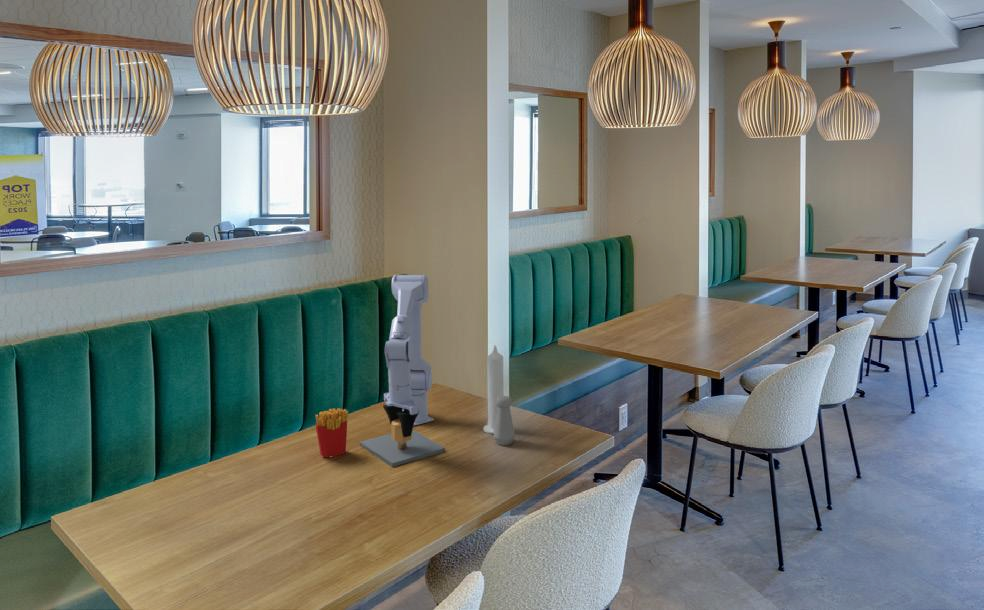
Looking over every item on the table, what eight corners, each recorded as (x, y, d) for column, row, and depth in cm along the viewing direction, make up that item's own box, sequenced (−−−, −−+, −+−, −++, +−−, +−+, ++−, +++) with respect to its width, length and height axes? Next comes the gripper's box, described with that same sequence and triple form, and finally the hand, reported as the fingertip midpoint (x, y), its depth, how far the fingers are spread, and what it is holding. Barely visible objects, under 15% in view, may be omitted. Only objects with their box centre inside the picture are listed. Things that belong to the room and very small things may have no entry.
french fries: (320, 459, 193) (317, 415, 191) (316, 454, 196) (313, 411, 194) (351, 453, 197) (349, 410, 194) (347, 448, 200) (345, 405, 198)
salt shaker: (514, 446, 200) (514, 400, 197) (493, 446, 200) (493, 400, 197) (514, 438, 206) (514, 393, 203) (493, 438, 206) (493, 393, 203)
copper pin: (396, 449, 198) (395, 435, 197) (403, 447, 199) (403, 433, 198) (400, 452, 196) (400, 438, 195) (408, 450, 197) (408, 435, 196)
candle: (479, 427, 214) (478, 343, 209) (501, 423, 217) (501, 340, 212) (489, 436, 208) (488, 349, 203) (512, 431, 211) (512, 346, 205)
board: (359, 445, 202) (359, 441, 202) (410, 431, 211) (410, 428, 211) (392, 466, 188) (392, 463, 188) (445, 451, 197) (445, 447, 197)
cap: (388, 437, 197) (388, 421, 196) (405, 432, 200) (405, 417, 199) (398, 443, 193) (397, 426, 192) (415, 438, 196) (415, 422, 195)
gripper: (372, 380, 197) (375, 428, 200) (400, 393, 186) (402, 444, 188) (396, 375, 201) (398, 422, 204) (424, 388, 190) (426, 438, 193)
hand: (401, 432), depth 196 cm, fingers closed on cap, 5 cm apart
